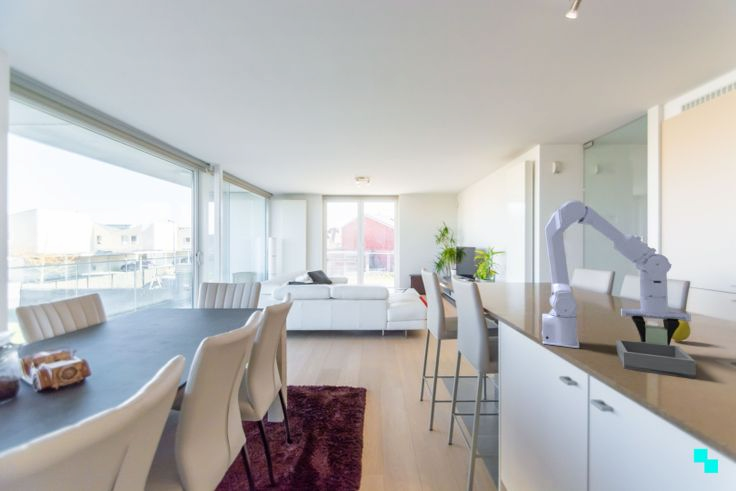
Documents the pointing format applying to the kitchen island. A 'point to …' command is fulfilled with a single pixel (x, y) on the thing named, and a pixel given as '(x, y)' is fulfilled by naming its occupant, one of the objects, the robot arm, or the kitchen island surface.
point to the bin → (655, 358)
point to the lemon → (681, 331)
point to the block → (656, 334)
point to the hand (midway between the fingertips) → (654, 344)
